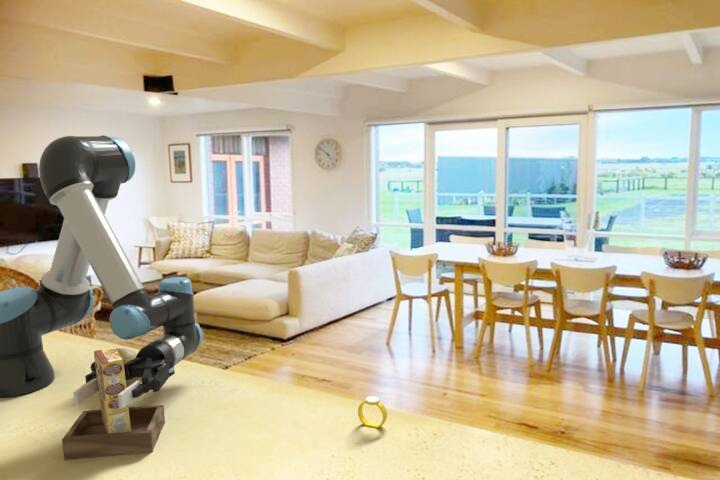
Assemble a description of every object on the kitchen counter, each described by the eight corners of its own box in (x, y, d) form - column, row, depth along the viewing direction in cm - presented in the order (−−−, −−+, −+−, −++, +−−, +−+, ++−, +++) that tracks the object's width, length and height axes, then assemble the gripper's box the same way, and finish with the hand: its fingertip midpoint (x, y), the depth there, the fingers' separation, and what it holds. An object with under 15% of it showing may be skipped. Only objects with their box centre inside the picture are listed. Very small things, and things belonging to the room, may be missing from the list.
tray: (85, 428, 121) (83, 410, 120) (164, 422, 123) (163, 404, 122) (64, 459, 109) (61, 439, 108) (152, 451, 111) (150, 432, 110)
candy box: (132, 433, 113) (124, 358, 110) (109, 440, 111) (100, 363, 108) (122, 416, 120) (115, 345, 118) (100, 422, 118) (92, 350, 115)
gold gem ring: (387, 426, 119) (389, 399, 118) (382, 432, 117) (383, 405, 116) (361, 419, 122) (362, 392, 121) (355, 425, 119) (356, 398, 118)
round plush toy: (115, 379, 146) (111, 338, 144) (154, 384, 142) (151, 343, 140) (85, 395, 137) (80, 352, 135) (126, 401, 133) (122, 357, 131)
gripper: (205, 374, 130) (151, 422, 108) (118, 369, 134) (49, 415, 112) (202, 342, 129) (147, 384, 107) (115, 338, 133) (45, 378, 111)
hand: (97, 400), depth 110 cm, fingers closed on candy box, 9 cm apart
